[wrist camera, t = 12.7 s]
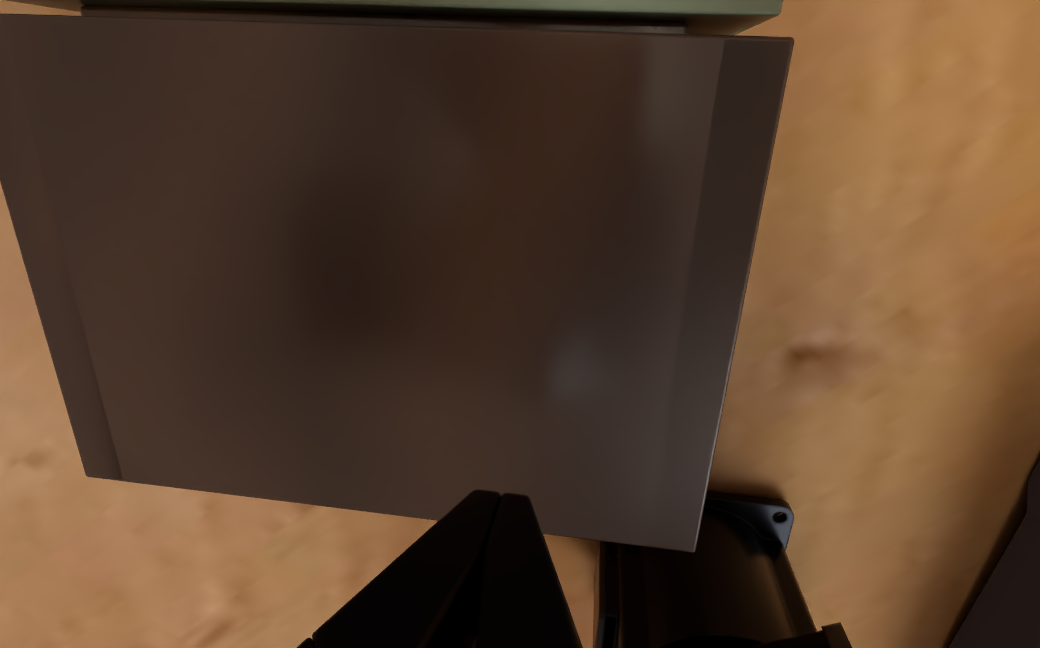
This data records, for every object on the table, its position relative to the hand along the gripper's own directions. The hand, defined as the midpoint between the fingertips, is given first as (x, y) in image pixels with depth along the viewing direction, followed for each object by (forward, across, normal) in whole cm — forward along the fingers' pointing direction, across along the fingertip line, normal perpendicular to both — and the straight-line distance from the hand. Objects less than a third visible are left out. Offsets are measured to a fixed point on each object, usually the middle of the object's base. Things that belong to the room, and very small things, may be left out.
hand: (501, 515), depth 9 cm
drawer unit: (+12, +3, -2) cm, 13 cm away
